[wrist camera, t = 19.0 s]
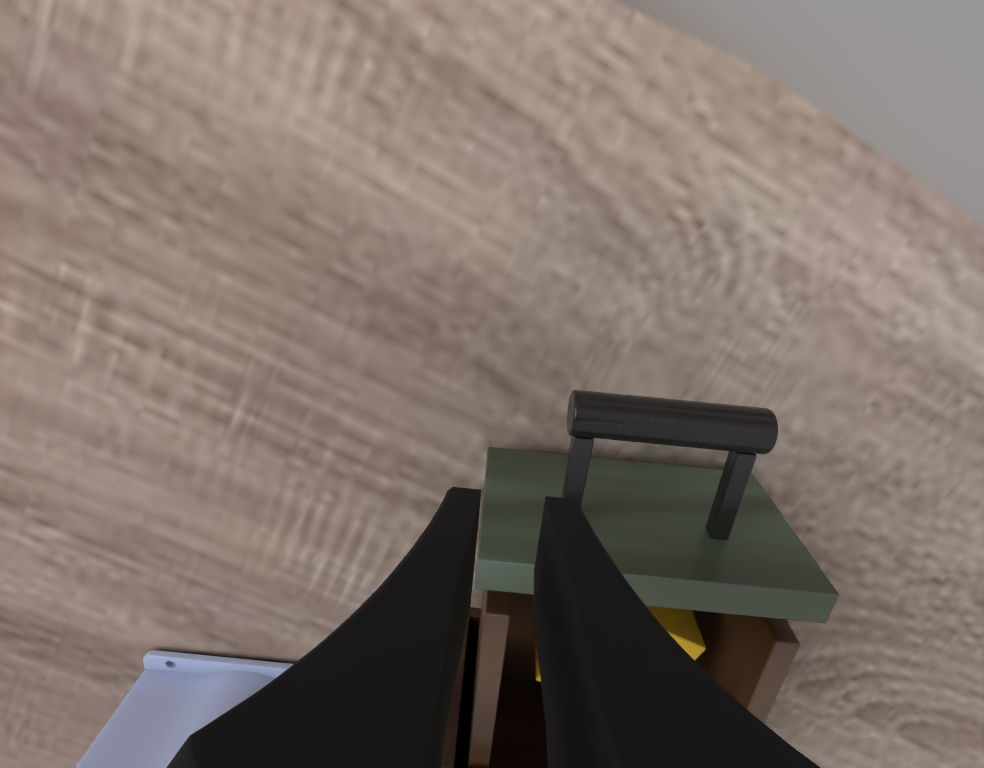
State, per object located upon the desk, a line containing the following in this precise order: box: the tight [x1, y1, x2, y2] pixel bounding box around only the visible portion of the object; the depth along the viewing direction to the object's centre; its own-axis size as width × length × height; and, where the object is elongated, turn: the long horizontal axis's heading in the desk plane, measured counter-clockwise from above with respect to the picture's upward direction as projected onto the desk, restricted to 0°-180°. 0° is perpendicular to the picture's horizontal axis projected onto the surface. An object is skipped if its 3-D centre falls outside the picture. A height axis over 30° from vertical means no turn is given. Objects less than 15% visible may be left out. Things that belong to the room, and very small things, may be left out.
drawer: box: [467, 390, 839, 768], centre depth 21 cm, size 18×11×6 cm, turn 175°
